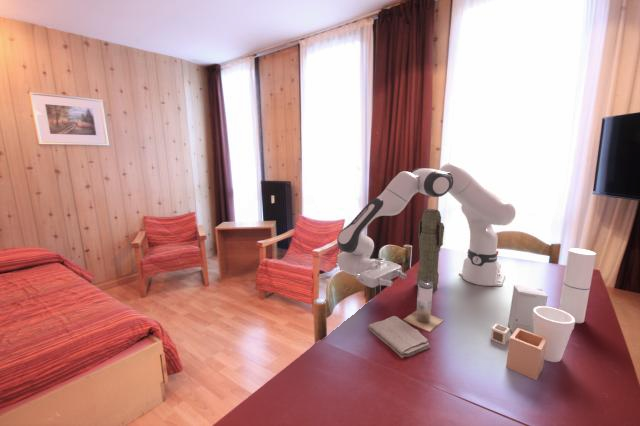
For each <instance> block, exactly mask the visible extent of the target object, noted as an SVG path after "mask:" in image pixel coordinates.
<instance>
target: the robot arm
mask: <svg viewBox="0 0 640 426" xmlns="http://www.w3.org/2000/svg"><path fill="white" fill-rule="evenodd" d="M417 193H420V194H423V195H426V196H429V197H431V198H440V197H443V196H445V195H446V194H447V193H448V194H450V195H451V196H452V197H453V198H454V199H455V200H456V201H457V202H458V203H459V204H461V206H460V207H461V208H460V209H461V212H462V214H463V215H464V216H465V219H466V221H467V224H468V228H469V245H468V246H469V248H468V249H467V254H466V255H467V257H466V258H464V259H463V265H462V271H459V276H461V277H462V279H463V280H464V281H466V282H468V283H470V284H474V285H478V286H483V287H484V286H485V287H489V286H490V287H491V286H492V287H493V286H494V287H503V284H504V281H505V278H506V273H504V272H501V264H500V263H499V261H498V255H499V250H497V248H498V242H499V241H498V240H499V239H498V234H497V233H496V232H495V230H494V228H493V226H507V225H510V224H511V223H512V222H513V221H514V220H515V217H516V209H515V207H514V206H513V204H511V203H509V202H507V201H505V200H503V199H502V198H500V197H499V196H497V195H496V194H494V193H493V192H491V191H490V190H488V189H487V188H485V187H484V186H482V185H481V184H480V183H479V182H478V181H477V180H476V179H475V178H474V177H473V176H472V175H470V173H468V171H466V169H464V168H463V167H461V166H459V165H458V164H456V163H454V162H449V163H445V164H444V165H443V166H441V167H440V168H439V169H434V168H426V167H418V168H415V169H412V170H411V171H406V170H404V171H401V172H399V173H398V174H397V175H396V176H395V177H393V178H392V180H391V181H390V182H389V184H388V185H387V186H386V187H385V188H384V190H383V191H382V192H381V194H379V195H378V196H376V198H373V199H372V200H370V201H369V202H368V203H367V204H366V205H365V206H364V208H363V209H362V210H361V211H359V213H358V214H357V215H356V216H355V217H354V219H353V220H352V221H351V222H350V223H348V224H347V226H345V227H343V228H342V229H341V230H340V232H339V233H338V234H337V238H336V239H337V240H336V241H337V246H338V247H337V248H339V250H340V251H342V252H340V253H339V254H338V256H337V258H336V259H337V260H336V262H337V267H338V268H339V269H340V270H341V271H343V272H345V273H346V274H348V275H351V276H354V278H355V279H356V280H357V281H359V283H360V284H362V285H364V286H366V287H368V288H372V289H373V288H376V287H378V286H387V287H391V286H392V287H393V285H394V284H393V283H394V282H393V280H392V279H394V278H396V277H400V279H402V280H405V279H407V278H408V275H407V273H404V272H403V267H402V265H400V264H398V263H396V262H392V261H389V260H386V259H385V258H382V257H379V258H371V257H372V255H373V252H374V250H375V242H374V240H373V239H372V238H371V237H369V236H368V235H365V234H363V232H364V231H365V229H366V228H367V227H368V226H369V225H371V223H372V222H373V221H374V220H375V219H376V218H379V217H382V216H387V217H388V216H389V217H393V216H396V215H398V214H400V213H401V212H402V211H403V210H404V209H405V208H406V207H407V205H408V204H409V202H410V201H411V199H412V198H413V196H414V195H416V194H417ZM492 225H493V226H492Z"/></svg>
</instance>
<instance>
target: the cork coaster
mask: <svg viewBox="0 0 640 426" xmlns="http://www.w3.org/2000/svg"><path fill="white" fill-rule="evenodd" d="M416 313H417V309H416V310H414V311H413V312H412V313H410V314H409V315H407V316H406V317H405V318H403V319H402V321H404V322H406V323H407V324H409V325H413V327H414V326H415V327H417V328H419V329H421V330H424V331H425V332H428V333H430V332H431V331H433V330H434V329H436V327H438V326H439V325H440V324H441V323H443V322H444V319H442V318H439V317H436V316H434V315H432V314H431V319H430V322H429V323H421V322H418V321H417V320H416Z"/></svg>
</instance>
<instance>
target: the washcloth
mask: <svg viewBox="0 0 640 426" xmlns="http://www.w3.org/2000/svg"><path fill="white" fill-rule="evenodd" d="M367 329H368V330H369V331H370V332H371V333H373V334H374V335H375V336H376V337H377V338H378V339H379V340H380V341H381V342H383V343H384V344H386V345H387V346H388V347H389V348H390V349H392V351H393V352H395V353H396V354H397V355H398V356H399V357H400V358H401V359H404V358H405V357H411V356H414V355H416V354H418V353H420V352H423V351H426V350H428V349H430V348H431V344H430V343H429V342H428V338H427V337H426V336H424V335H423V334H422V333H421V332H420V330H419V329H416V328H414V326H413V327H412V326H411V324H410V323H408V322H406V321H404V320H403V319H401V318H399V316H396V315H392V316H389V317H388V318H386V319H383V320H379V321H376V322H373V323H369V324H368V326H367Z"/></svg>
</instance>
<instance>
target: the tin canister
mask: <svg viewBox="0 0 640 426" xmlns="http://www.w3.org/2000/svg"><path fill="white" fill-rule="evenodd" d="M433 292H434V291H433V283H432V282H431V281H428V280H420V281H418V287H417V298H416V310H417V313H416V320H417V321H418V322H421V323H429V322H430V319H431V315H432V304H433V303H432V302H433Z"/></svg>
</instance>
